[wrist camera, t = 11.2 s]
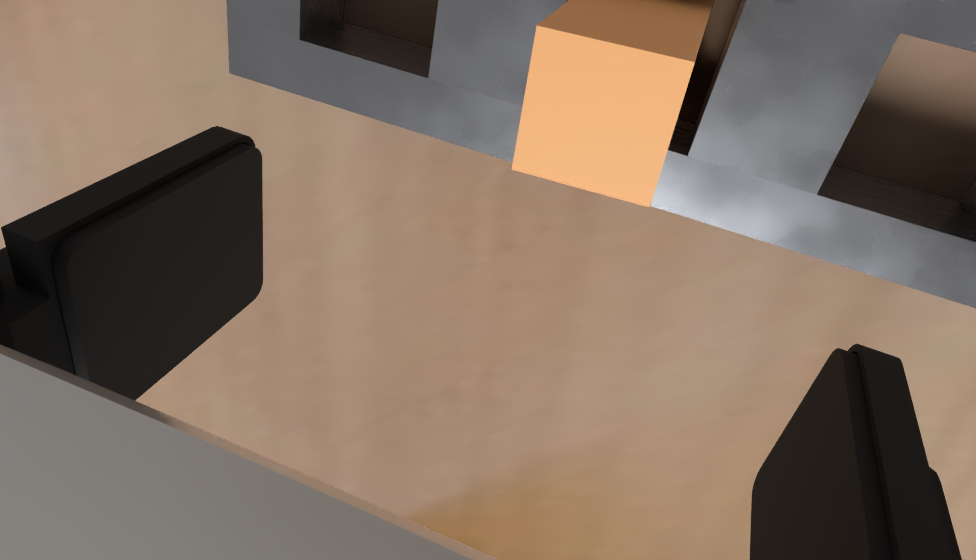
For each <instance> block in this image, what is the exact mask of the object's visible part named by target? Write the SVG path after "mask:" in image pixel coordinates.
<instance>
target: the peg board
mask: <svg viewBox="0 0 976 560" xmlns="http://www.w3.org/2000/svg"><path fill="white" fill-rule="evenodd" d="M567 1H568V0H438V8H437V15H436V23H435V31H434V38H433V46H432V48H431V47H428V46H424V45H421V44H417V43H414V42H410V41H407V40H403V39H400V38H397V37H393V36H390V35H386V34H383V33H379V32H376V31H373V30H369V29H366V28H362V27H359V26H355V25H352V24H349V23H345V22H343V16H344V0H227V21H228V46H229V71H230V73H231V74H234V75H237V76H240V77H243V78H247V79H250V80H253V81H256V82H259V83H262V84H266V85H269V86H272V87H275V88H278V89H281V90H285V91H288V92H291V93H294V94H297V95H301V96H304V97H307V98H310V99H313V100H316V101H320V102H323V103H326V104H329V105H332V106H335V107H339V108H342V109H345V110H348V111H351V112H354V113H358V114H361V115H364V116H367V117H370V118H374V119H377V120H380V121H383V122H386V123H389V124H393V125H396V126H399V127H402V128H405V129H408V130H412V131H415V132H418V133H421V134H424V135H428V136H431V137H434V138H437V139H440V140H443V141H447V142H450V143H453V144H456V145H459V146H462V147H466V148H469V149H472V150H475V151H478V152H482V153H485V154H488V155H491V156H494V157H497V158H501V159H504V160H507V161H510V162H513V158H514V153H515V147H516V141H517V135H518V130H519V124H520V118H521V113H522V107H523V101H524V95H525V90H526V84H527V78H528V72H529V67H530V61H531V55H532V49H533V44H534V38H535V32H536V26H537V25H538V24H539V23H540V22H542V21H543V20H544V19H546V18H547V17H548V16H549V15H551V14H552V13H553V12H554V11H556V10H557V9H558V8H560V7H561V6H562V5H563V4H565V3H566V2H567ZM899 33H902V34H906V35H910V36H914V37H918V38H922V39H926V40H930V41H933V42H937V43H941V44H945V45H949V46H953V47H957V48H961V49H965V50H969V51H973V52H976V0H742V1H741V4H740V6H739V9H738V12H737V14H736V17H735V20H734V22H733V25H732V28H731V30H730V33H729V36H728V38H727V41H726V44H725V46H724V49H723V52H722V54H721V57H720V60H719V63H718V65H717V68H716V71H715V73H714V76H713V79H712V81H711V84H710V87H709V89H708V92H707V95H706V97H705V100H704V103H703V105H702V108H701V111H700V113H699V116H698V119H697V121H696V124H692V123H689V122H685V121H682V120H678V119H677V122H676V125H675V128H674V131H673V134H672V138H671V141H670V144H669V147H668V151H667V154H666V157H665V160H664V163H663V167H662V170H661V173H660V176H659V180H658V183H657V186H656V189H655V192H654V196H653V199H652V202H651V205H650V206H653V207H656V208H659V209H663V210H666V211H669V212H672V213H675V214H678V215H682V216H685V217H688V218H691V219H694V220H697V221H701V222H704V223H707V224H710V225H713V226H717V227H720V228H723V229H726V230H729V231H732V232H736V233H739V234H742V235H745V236H748V237H751V238H755V239H758V240H761V241H764V242H767V243H771V244H774V245H777V246H780V247H783V248H786V249H790V250H793V251H796V252H799V253H802V254H805V255H809V256H812V257H815V258H818V259H821V260H824V261H828V262H831V263H834V264H837V265H840V266H844V267H847V268H850V269H853V270H856V271H859V272H863V273H866V274H869V275H872V276H875V277H878V278H882V279H885V280H888V281H891V282H894V283H898V284H901V285H904V286H907V287H910V288H913V289H917V290H920V291H923V292H926V293H929V294H932V295H936V296H939V297H942V298H945V299H948V300H952V301H955V302H958V303H961V304H964V305H967V306H971V307H974V308H976V180H975V181H974V183H973V184H972V186H971V187H970V189H969V190H968V192H967V193H966V195H965V196H964V198H963V199H962V201H961V202H960V201H957V200H953V199H950V198H946V197H943V196H939V195H936V194H932V193H929V192H926V191H922V190H919V189H915V188H912V187H908V186H905V185H902V184H898V183H895V182H891V181H888V180H884V179H881V178H878V177H874V176H871V175H867V174H864V173H860V172H857V171H853V170H850V169H847V168H843V167H840V166H836V165H833V162H834V160H835V158H836V156H837V154H838V152H839V150H840V148H841V146H842V144H843V142H844V140H845V138H846V136H847V134H848V133H849V131H850V129H851V127H852V125H853V123H854V121H855V119H856V117H857V115H858V113H859V111H860V109H861V107H862V105H863V103H864V101H865V99H866V98H867V96H868V94H869V92H870V90H871V88H872V86H873V84H874V82H875V80H876V78H877V76H878V74H879V72H880V70H881V68H882V66H883V64H884V63H885V61H886V59H887V57H888V55H889V53H890V51H891V49H892V47H893V45H894V43H895V41H896V39H897V37H898V35H899Z"/></svg>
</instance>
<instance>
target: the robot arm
mask: <svg viewBox="0 0 976 560" xmlns="http://www.w3.org/2000/svg"><path fill="white" fill-rule="evenodd" d="M1 229H2V233H3V237H4V241H5V245H6V247H5V248H3V249H1V250H0V560H498V559H496V558H494V557H492V556H489V555H487V554H485V553H483V552H480V551H478V550H476V549H474V548H471V547H469V546H467V545H465V544H462V543H460V542H458V541H456V540H453V539H451V538H449V537H447V536H444V535H442V534H440V533H438V532H435V531H433V530H431V529H429V528H426V527H424V526H422V525H419V524H417V523H415V522H413V521H410V520H408V519H406V518H403V517H401V516H399V515H397V514H394V513H392V512H390V511H387V510H385V509H383V508H381V507H378V506H376V505H374V504H371V503H369V502H367V501H365V500H362V499H360V498H358V497H355V496H353V495H351V494H349V493H346V492H344V491H342V490H339V489H337V488H335V487H333V486H330V485H328V484H326V483H323V482H321V481H319V480H317V479H314V478H312V477H310V476H307V475H305V474H303V473H301V472H298V471H296V470H294V469H291V468H289V467H287V466H284V465H282V464H280V463H278V462H275V461H273V460H271V459H268V458H266V457H264V456H262V455H259V454H257V453H255V452H252V451H250V450H248V449H245V448H243V447H241V446H239V445H236V444H234V443H232V442H229V441H227V440H225V439H222V438H220V437H218V436H216V435H213V434H211V433H209V432H206V431H204V430H202V429H199V428H197V427H195V426H192V425H190V424H188V423H185V422H183V421H181V420H178V419H176V418H174V417H171V416H169V415H167V414H164V413H162V412H160V411H157V410H155V409H153V408H150V407H148V406H146V405H143V404H141V403H139V402H136V401H135V400H136V399H137V398H139V397H140V396H141V395H142V394H143V393H145V392H146V391H147V390H148V389H149V388H150V387H152V386H153V385H154V384H155V383H156V382H158V381H159V380H160V379H161V378H162V377H164V376H165V375H166V374H167V373H168V372H169V371H171V370H172V369H173V368H174V367H175V366H177V365H178V364H179V363H180V362H181V361H182V360H184V359H185V358H186V357H187V356H188V355H190V354H191V353H192V352H193V351H194V350H195V349H197V348H198V347H199V346H200V345H201V344H203V343H204V342H205V341H206V340H207V339H208V338H210V337H211V336H212V335H213V334H214V333H216V332H217V331H218V330H219V329H220V328H221V327H223V326H224V325H225V324H226V323H227V322H229V321H230V320H231V319H232V318H233V317H234V316H236V315H237V314H238V313H239V312H240V311H242V310H243V309H244V308H245V307H246V306H247V305H249V304H250V303H251V302H252V301H253V300H254V299H255V298H256V297H257V295H258V294H259V292H260V290H261V287H262V284H263V213H262V155H261V152H260V151H259V150H258V149H257V148H255V144H254V142H253V140H252V139H251V138H250V137H249V136H246V135H243V134H240V133H237V132H234V131H231V130H228V129H225V128H223V127H219V126H216V127H212V128H210V129H208V130H205V131H203V132H201V133H199V134H197V135H195V136H193V137H191V138H189V139H187V140H184V141H182V142H180V143H178V144H176V145H174V146H172V147H170V148H168V149H165V150H163V151H161V152H159V153H157V154H155V155H153V156H151V157H149V158H146V159H144V160H142V161H140V162H138V163H136V164H134V165H132V166H130V167H127V168H125V169H123V170H121V171H119V172H117V173H115V174H113V175H111V176H109V177H106V178H104V179H102V180H100V181H98V182H96V183H94V184H92V185H90V186H87V187H85V188H83V189H81V190H79V191H77V192H75V193H73V194H71V195H68V196H66V197H64V198H62V199H60V200H58V201H56V202H54V203H52V204H49V205H47V206H45V207H43V208H41V209H39V210H37V211H35V212H33V213H31V214H28V215H26V216H24V217H22V218H20V219H18V220H16V221H14V222H12V223H9V224H7V225H5V226H3V227H1ZM750 560H962V559H961V555H960V551H959V548H958V544H957V540H956V537H955V533H954V529H953V526H952V522H951V518H950V514H949V511H948V507H947V503H946V500H945V496H944V492H943V489H942V485H941V482H940V479H939V477H938V475H937V473H936V472H935V471H934V470H933V469H931V468H930V467H929V465H928V461H927V457H926V453H925V449H924V445H923V442H922V438H921V434H920V430H919V426H918V422H917V418H916V414H915V411H914V407H913V403H912V399H911V395H910V391H909V387H908V384H907V380H906V376H905V372H904V368H903V364H902V362H901V360H900V359H899V358H897V357H895V356H892V355H889V354H886V353H883V352H880V351H877V350H874V349H871V348H868V347H865V346H862V345H859V344H855V345H853V346H852V347H851V348H850V349H849V350H848V351H845V350H843V349H840V348H838V349H835V350H834V351H833V352H832V354H831V355H830V357H829V358H828V360H827V361H826V363H825V365H824V366H823V368H822V370H821V371H820V373H819V374H818V376H817V378H816V379H815V381H814V382H813V384H812V386H811V387H810V389H809V391H808V392H807V394H806V395H805V397H804V399H803V400H802V402H801V404H800V405H799V407H798V408H797V410H796V412H795V413H794V415H793V416H792V418H791V420H790V421H789V423H788V425H787V426H786V428H785V429H784V431H783V433H782V434H781V436H780V438H779V439H778V441H777V442H776V444H775V446H774V447H773V449H772V450H771V452H770V454H769V455H768V457H767V459H766V460H765V462H764V463H763V465H762V467H761V468H760V470H759V472H758V474H757V476H756V479H755V482H754V486H753V490H752V509H751V539H750Z"/></svg>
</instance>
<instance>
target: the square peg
mask: <svg viewBox="0 0 976 560" xmlns="http://www.w3.org/2000/svg"><path fill="white" fill-rule="evenodd" d="M713 2H714V0H568V1H567V2H566V3H565V4H563V5H562V6H561V7H560V8H558V9H557V10H556V11H554V12H553V13H552V14H551V15H549V16H548V17H547V18H546V19H544V20H543V21H542V22H540V23H539V24H538V25H537V26H536V32H535V38H534V44H533V49H532V55H531V61H530V67H529V72H528V78H527V84H526V90H525V95H524V101H523V107H522V113H521V118H520V124H519V130H518V135H517V141H516V147H515V153H514V158H513V164H512V170H516V171H519V172H523V173H527V174H530V175H534V176H537V177H541V178H545V179H548V180H552V181H556V182H559V183H563V184H566V185H570V186H574V187H577V188H581V189H585V190H588V191H592V192H595V193H599V194H603V195H606V196H610V197H614V198H617V199H621V200H624V201H628V202H632V203H635V204H639V205H643V206H646V207H650V205H651V202H652V199H653V196H654V192H655V189H656V186H657V183H658V180H659V176H660V173H661V170H662V167H663V163H664V160H665V157H666V154H667V151H668V147H669V144H670V141H671V138H672V134H673V131H674V128H675V125H676V122H677V118H678V115H679V112H680V109H681V105H682V102H683V99H684V96H685V93H686V89H687V86H688V83H689V80H690V76H691V73H692V70H693V67H694V64H695V60H696V57H697V54H698V51H699V47H700V44H701V41H702V38H703V35H704V31H705V28H706V25H707V22H708V18H709V15H710V12H711V9H712V6H713Z"/></svg>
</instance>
